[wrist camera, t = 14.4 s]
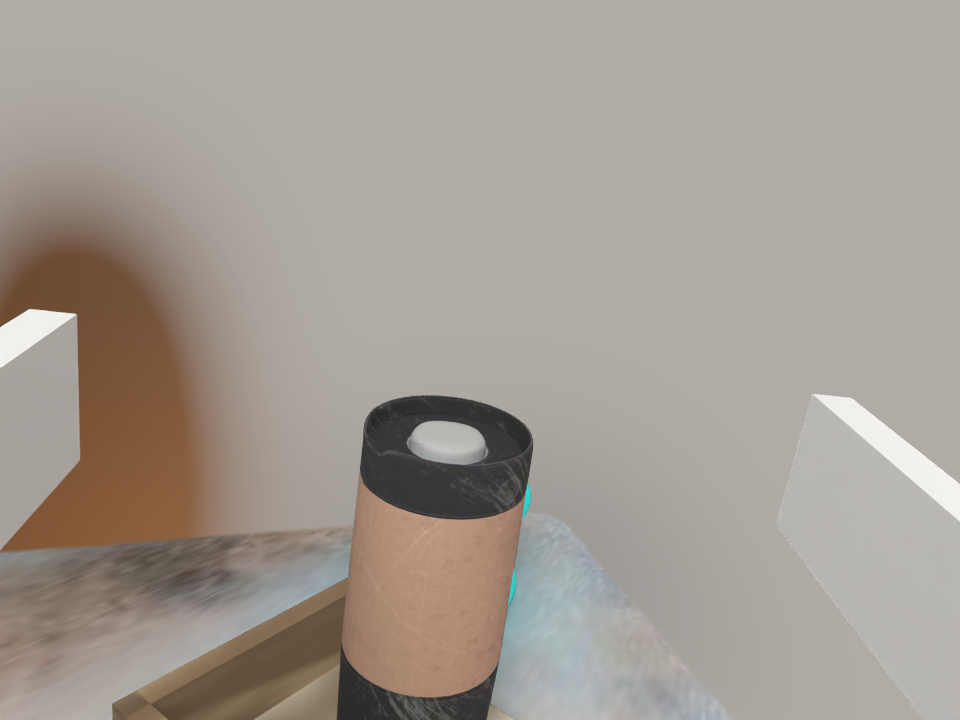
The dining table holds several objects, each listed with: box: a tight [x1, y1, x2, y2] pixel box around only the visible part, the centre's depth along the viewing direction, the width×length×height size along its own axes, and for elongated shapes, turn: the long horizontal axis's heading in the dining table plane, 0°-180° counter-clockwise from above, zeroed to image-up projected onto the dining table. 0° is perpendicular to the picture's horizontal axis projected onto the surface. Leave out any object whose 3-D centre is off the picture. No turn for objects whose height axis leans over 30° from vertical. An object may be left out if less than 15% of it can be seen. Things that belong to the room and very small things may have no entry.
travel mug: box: [337, 395, 533, 720], centre depth 40 cm, size 8×8×20 cm
